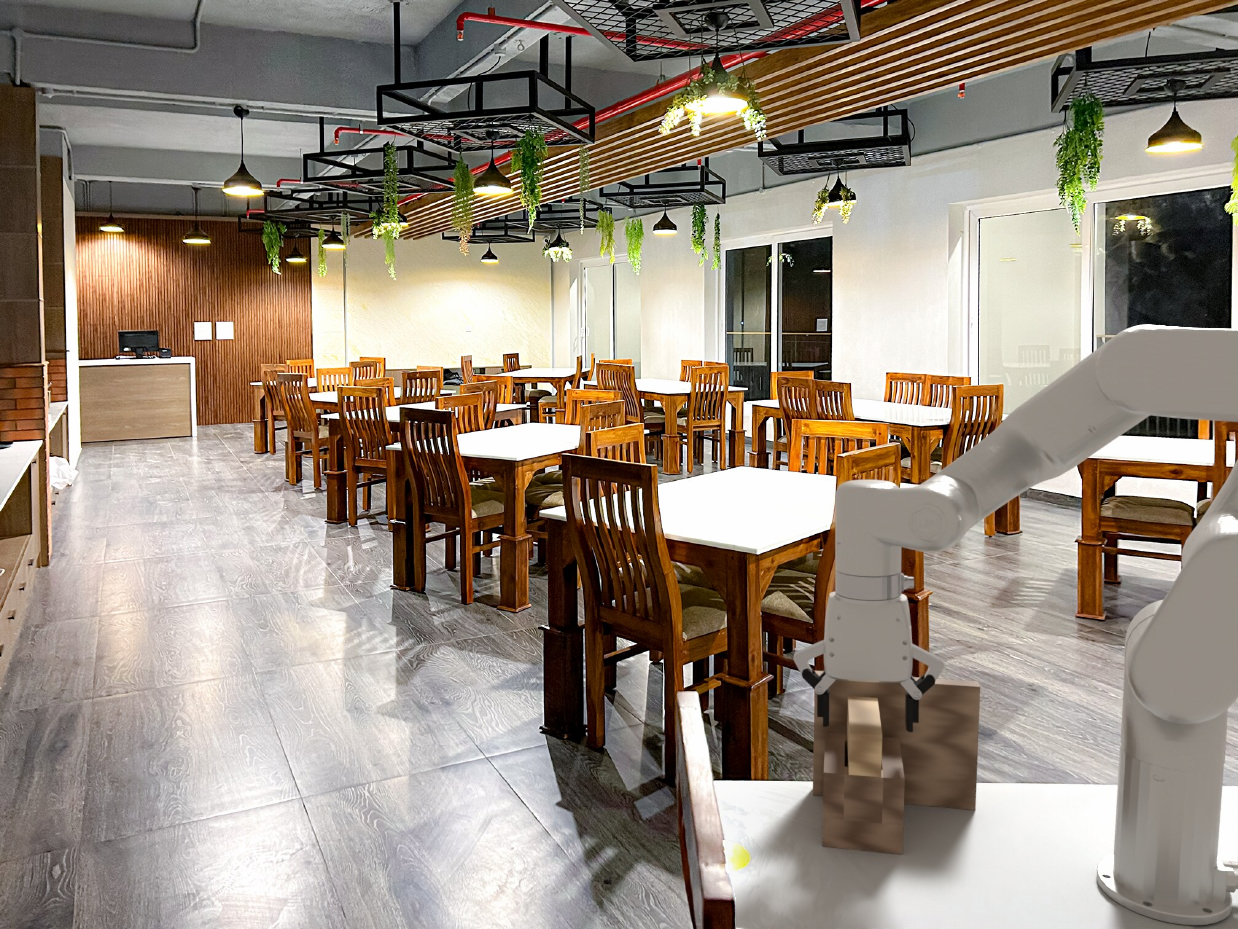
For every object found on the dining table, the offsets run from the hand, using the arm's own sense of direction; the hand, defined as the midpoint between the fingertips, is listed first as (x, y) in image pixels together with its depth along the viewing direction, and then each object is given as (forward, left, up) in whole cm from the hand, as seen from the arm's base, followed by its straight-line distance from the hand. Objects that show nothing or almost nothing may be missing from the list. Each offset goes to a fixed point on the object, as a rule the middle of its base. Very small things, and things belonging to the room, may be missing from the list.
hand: (867, 725), depth 117 cm
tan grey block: (0, 0, -9) cm, 9 cm away
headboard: (-4, -2, -13) cm, 13 cm away
